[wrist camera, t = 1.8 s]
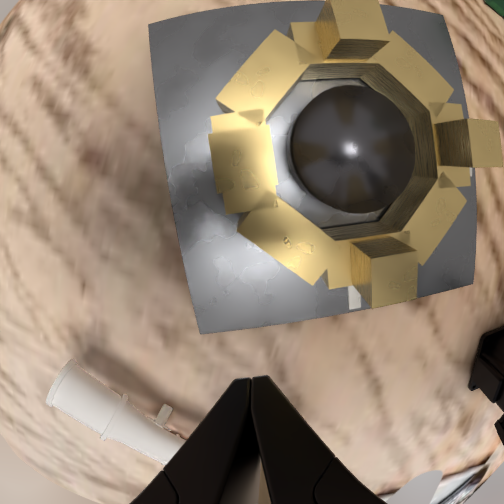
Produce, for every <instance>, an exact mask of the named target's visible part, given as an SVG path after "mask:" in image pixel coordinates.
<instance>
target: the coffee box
mask: <svg viewBox="0 0 504 504" xmlns="http://www.w3.org/2000/svg"><path fill="white" fill-rule="evenodd" d="M484 1H485V3H487V4H488V5H489V6H491V7H492V8H493V9H494V10H495V11H496V12H497V13H498V14H499V15H501V16H503V17H504V0H484Z"/></svg>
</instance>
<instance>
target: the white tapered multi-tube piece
mask: <svg viewBox="0 0 504 504" xmlns="http://www.w3.org/2000/svg"><path fill="white" fill-rule="evenodd" d="M77 364H78V362H77V361H76V360H75V359H74V358H73V359H71V360H70V361H68V363H67V364H66V365H65V366H64V367H63V369H62V370H61V372H60V373H59V375H58V376H57V378H56V380H55V381H54V383H53V385H52V387H51V389H50V391H49V393H48V396H47V399H46V404H47V405H49V406H50V407H52V406H55V407H56V408H58V409H59V410H61V411H62V412H64V413H66V414H67V415H69V416H70V417H72V418H74V419H75V420H77V421H78V422H80V423H82V424H83V425H85V426H87V427H89V428H90V429H92V430H94V431H96V432H97V433H99V434H101V436H100V439H102V440H104V441H105V440H106V439H107V438H109V439H112V440H115V441H118V442H121V443H123V444H125V445H127V446H129V447H130V448H132V449H134V450H136V451H138V452H140V453H142V454H144V455H146V456H148V457H150V458H152V459H154V460H156V461H158V462H160V463H161V464H162V465H166V464H167V463H168V462H169V461H170V459H171V458H172V457H173V456H174V455H175V454H176V452H177V451H178V450H179V449H180V447H181V446H182V445H183V444H184V443H185V441H186V440H184V439H182V438H180V435H179V434H176V435H174V434H172V433H170V432H169V431H167V430H170V431H172V430H171V429H170V428H168V427H166V426H165V423H166V421H167V419H168V417H169V416H170V414H171V412H172V410H173V408H172V407H170V406H168V405H166V404H164V405H163V406H162V408H161V410H160V412H159V414H158V416H157V417H156V419H154V420H153V419H151V418H149V417H146V416H145V415H144V414H143V413H141V412H140V411H139V410H138V409H137V408H135V407H134V406H133V405H132V404H131V403H130V402H129V401H127V400H128V395H126V394H123V396H120V395H119V394H117V393H116V392H114V391H113V390H111V389H110V388H108V387H107V386H105V385H104V384H103V383H101V382H100V381H98V380H97V379H96V378H94V377H93V376H92V375H90V374H89V373H88V372H86V371H85V370H84V369H82V368H81V367H80V366H78V365H77ZM153 422H154V423H153ZM163 428H165V429H167V430H165V429H163Z"/></svg>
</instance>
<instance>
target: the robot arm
mask: <svg viewBox="0 0 504 504" xmlns="http://www.w3.org/2000/svg"><path fill="white" fill-rule="evenodd" d="M468 388H469V389H470V390H471V391H473V390H476V389H478V388H480V389H481V391H482V392H483V393H484V394H485V395H486V396H487V398H488V399H489V400H490V401H491V402H492V403H496V404H497V405H498V406H499V407H500V408H501V410H502V411H503V412H504V326H503V327H500V328H498V329H496V330H493V331H491V332H488V333H485V334H484V335H483V336H482V337H481V340H480V344H479V349H478V353H477V357H476V361H475V365H474V369H473V373H472V376H471V380H470V383H469V387H468ZM494 425H495V427H496V429H497V433H498V435H499V437H500V439H501V441H502V443H503V445H504V414H503V415H502V416H501V418H500V419H499V420H497V421H496V423H495V424H494ZM261 463H262V467H263V471H264V476H265V480H266V484H267V488H268V493H269V497H270V501H271V504H387V503H386V502H384V501H383V500H382V499H380V498H379V497H378V496H377V495H375V494H374V493H373V492H372V491H371V490H369V489H368V488H367V487H366V486H365V485H363V484H362V483H361V482H360V481H359V480H358V479H357V478H356V477H355V476H354V475H353V474H352V473H351V472H350V471H349V470H348V469H347V468H346V467H345V466H344V464H343V463H342V462H341V461H340V460H339V459H338V458H337V457H335V455H334V453H333V452H332V451H331V450H330V449H329V448H328V447H327V445H326V444H325V443H324V442H323V441H322V440H321V439H320V437H319V436H318V435H317V434H316V433H315V431H314V430H313V429H312V428H311V427H310V426H309V424H308V423H307V422H306V421H305V420H304V418H303V417H302V416H301V415H300V414H299V412H298V411H297V410H296V409H295V408H294V406H293V405H292V404H291V403H290V401H289V400H288V399H287V398H286V397H285V395H284V394H283V393H282V392H281V390H280V389H279V388H278V387H277V385H276V384H275V383H274V382H273V380H272V379H271V378H270V377H269V376H268V375H264V376H257V377H253V378H252V380H251V378H239V379H235V380H233V382H232V383H231V384H230V385H229V387H228V388H227V389H226V391H225V392H224V393H223V395H222V396H221V397H220V399H219V400H218V401H217V402H216V404H215V405H214V406H213V408H212V409H211V410H210V411H209V413H208V414H207V415H206V417H205V418H204V419H203V420H202V422H201V423H200V424H199V425H198V427H197V428H196V429H195V430H194V432H193V433H192V434H191V435H190V436H189V438H188V439H187V440H186V441H185V443H184V444H183V445H182V446H181V447H180V449H179V450H178V451H177V452H176V454H175V455H174V456H173V457H172V458H171V459H170V461H169V462H168V463H167V464H166V465H165V467H164V468H163V470H164V471H160V472H159V473H158V475H157V476H156V477H155V478H154V479H153V480H152V481H151V483H150V484H149V485H148V486H147V487H146V488H145V489H144V490H143V491H142V492H141V493H140V494H139V495H138V496H137V497H136V498H135V499H134V500H133V501H132V502H131V503H130V504H258V498H259V485H260V471H261Z"/></svg>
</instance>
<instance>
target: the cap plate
mask: <svg viewBox="0 0 504 504" xmlns="http://www.w3.org/2000/svg"><path fill="white" fill-rule="evenodd" d="M324 3H325V1H286V2H270V3H258V4H249V5H240V6H233V7H226V8H220V9H214V10H208V11H203V12H197V13H193V14H188V15H183V16H179V17H175V18H171V19H167V20H163V21H159V22H155V23H152V24H148V28H149V41H150V52H151V62H152V72H153V82H154V90H155V99H156V107H157V114H158V122H159V129H160V136H161V143H162V150H163V156H164V162H165V169H166V175H167V181H168V186H169V192H170V198H171V203H172V209H173V214H174V219H175V224H176V229H177V235H178V239H179V244H180V249H181V254H182V259H183V263H184V268H185V273H186V277H187V282H188V286H189V290H190V295H191V299H192V303H193V307H194V311H195V316H196V320H197V324H198V328H199V332H200V334H208V333H217V332H226V331H234V330H242V329H250V328H257V327H264V326H271V325H278V324H285V323H291V322H298V321H304V320H310V319H316V318H322V317H327V316H333V315H338V314H344V313H349V312H354V311H360V310H365V309H370V308H371V307H370V306H369V304H368V303H367V302H366V301H365V300H364V298H363V297H362V296H361V295H360V293H359V292H358V291H357V290H356V289H355V287H354V286H353V285H352V286H346V287H341V288H335V289H328V287H327V286H326V284H325V282H324V281H323V279H322V278H321V276H320V278H319V279H318V280H317V281H316V282H315V284H314V285H313V286H312V285H311V284H309V283H308V282H306V281H305V280H304V279H302V278H301V277H300V276H298V275H297V274H295V273H294V272H293V271H291V270H290V269H288V268H287V267H286V266H284V265H283V264H282V263H280V262H279V261H277V260H276V259H275V258H273V257H272V256H270V255H269V254H268V253H266V252H265V251H263V250H262V249H261V248H259V247H258V246H256V245H255V244H254V243H252V242H251V241H250V240H248V239H247V238H245V237H244V236H243V235H241V234H240V233H238V232H237V231H236V229H237V224H238V220H239V219H240V217H241V216H242V215H243V213H244V212H241V213H234V214H228V215H226V212H225V206H224V199H223V193H219V194H217V190H216V184H215V177H214V171H213V165H212V159H211V152H210V146H209V139H208V134H211V133H213V130H212V124H211V117H210V116H215V115H221V114H226V113H225V112H223V111H222V110H221V109H220V107H219V105H218V103H217V101H216V99H215V98H216V97H217V96H218V94H219V93H220V92H221V91H222V89H223V88H224V87H225V86H226V84H227V83H228V82H229V81H230V80H231V78H232V77H233V76H234V75H235V74H236V72H237V71H238V70H239V69H240V68H241V66H242V65H243V64H244V63H245V62H246V61H247V59H248V58H249V57H250V56H251V55H252V54H253V53H254V51H255V50H256V49H257V48H258V47H259V46H260V45H261V44H262V43H263V41H264V40H265V39H266V38H267V37H268V36H269V35H270V34H271V33H272V32H273V31H274V30H277V31H279V32H280V33H282V34H283V35H285V36H287V32H288V29H289V26H290V23H291V22H316V20H317V18H318V16H319V14H320V12H321V10H322V8H323V6H324ZM380 7H381V10H382V13H383V17H384V20H385V23H386V26H387V30H388V33H390V32H391V31H392V30H393V31H394V32H395V33H396V34H398V35H399V36H400V37H401V38H402V39H403V40H405V41H406V42H407V43H408V44H409V45H410V46H411V47H412V48H413V49H415V50H416V51H417V52H418V53H419V54H420V55H421V56H422V57H423V58H424V59H425V60H426V61H427V62H428V63H429V64H430V65H431V66H432V67H433V68H434V69H435V70H436V71H437V72H438V73H439V74H440V75H441V76H442V77H443V78H444V79H445V80H446V81H447V82H448V83H449V85H450V86H451V87H452V88H453V89H454V91H453V93H452V94H451V96H450V98H449V99H448V101H447V102H446V103H453V104H461V105H462V111H463V117H464V119H469V116H468V110H467V104H466V99H465V94H464V89H463V84H462V80H461V75H460V71H459V67H458V63H457V59H456V56H455V52H454V48H453V45H452V42H451V38H450V35H449V32H448V29H447V26H446V23H445V20H444V17H443V15H440V14H436V13H431V12H426V11H421V10H415V9H410V8H403V7H397V6H389V5H381V4H380ZM266 125H269V127H270V133H271V139H272V146H273V152H274V159H275V166H276V173H277V180H278V185H275V188H276V194H277V195H278V196H279V197H281V198H282V199H283V200H285V201H286V202H287V203H289V204H290V205H291V206H292V207H294V208H295V209H296V210H298V211H299V212H300V213H302V214H303V215H304V216H306V217H307V218H308V219H309V220H311V221H312V222H313V223H314V224H316V225H317V226H318V227H320V228H321V229H328V228H335V227H342V226H349V225H357V224H364V223H371V222H378V221H380V219H381V218H382V217H383V215H384V214H385V213H386V211H387V210H388V209H389V207H390V206H391V205H392V203H393V202H394V201H395V200H396V199H397V198H398V197H399V196H400V195H401V194H402V192H403V191H404V190H405V188H406V187H407V185H408V183H409V181H410V179H411V177H412V173H413V170H414V165H415V154H416V153H415V143H414V137H413V134H412V131H411V128H410V126H409V124H408V122H407V120H406V118H405V116H404V115H403V113H402V112H401V111H400V109H399V108H398V107H397V106H396V105H395V104H394V103H393V102H392V101H391V100H389V99H388V98H387V97H386V96H384V95H382V94H381V93H379V92H377V91H375V90H374V89H373V88H371V87H370V86H369V85H368V84H367V83H365V82H364V81H363V80H362V79H361V78H329V79H310V80H300V81H299V83H298V84H297V85H296V86H295V87H294V89H293V90H292V91H291V92H290V93H289V95H288V96H287V97H286V98H285V100H284V101H283V102H282V103H281V105H280V106H279V107H278V108H277V110H276V111H275V112H274V113H273V115H272V116H271V117H270V118H269V120H268V121H267V122H266ZM469 168H470V167H469ZM470 182H471V186H463V187H456V188H457V189H458V190H459V191H460V192H461V194H462V195H463V196H464V197H465V199H466V200H467V202H466V203H465V205H464V207H463V208H462V210H461V211H460V213H459V214H458V216H457V218H456V219H455V221H454V222H453V224H452V225H451V227H450V228H449V230H448V231H447V233H446V234H445V236H444V237H443V238H442V240H441V241H440V243H439V244H438V246H437V247H436V248H435V250H434V251H433V253H432V254H431V255H430V257H429V258H428V259H427V261H426V262H425V263H424V265H423V266H422V265H420V264H418V278H417V298H420V297H424V296H428V295H432V294H436V293H440V292H444V291H448V290H452V289H456V288H460V287H463V286H467V285H471V284H473V281H474V270H475V255H476V229H477V205H476V179H475V168H470Z"/></svg>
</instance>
